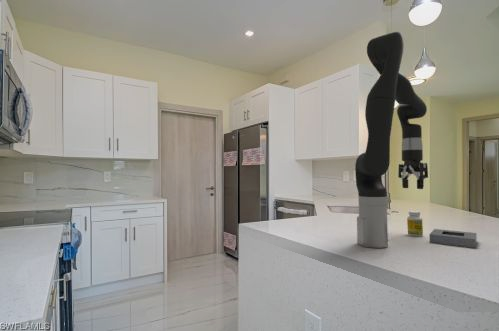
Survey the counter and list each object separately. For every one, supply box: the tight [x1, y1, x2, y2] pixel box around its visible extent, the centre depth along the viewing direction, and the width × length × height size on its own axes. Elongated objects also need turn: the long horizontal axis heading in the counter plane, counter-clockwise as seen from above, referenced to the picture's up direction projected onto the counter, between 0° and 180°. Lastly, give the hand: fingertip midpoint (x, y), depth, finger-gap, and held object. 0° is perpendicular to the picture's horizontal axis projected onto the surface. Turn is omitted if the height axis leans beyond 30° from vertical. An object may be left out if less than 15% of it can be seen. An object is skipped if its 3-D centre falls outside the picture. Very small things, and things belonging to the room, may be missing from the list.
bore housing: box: [429, 228, 478, 249], centre depth 102 cm, size 13×13×3 cm
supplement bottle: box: [406, 210, 424, 237], centre depth 114 cm, size 5×5×10 cm
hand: (412, 188), depth 115 cm, fingers open, 8 cm apart
